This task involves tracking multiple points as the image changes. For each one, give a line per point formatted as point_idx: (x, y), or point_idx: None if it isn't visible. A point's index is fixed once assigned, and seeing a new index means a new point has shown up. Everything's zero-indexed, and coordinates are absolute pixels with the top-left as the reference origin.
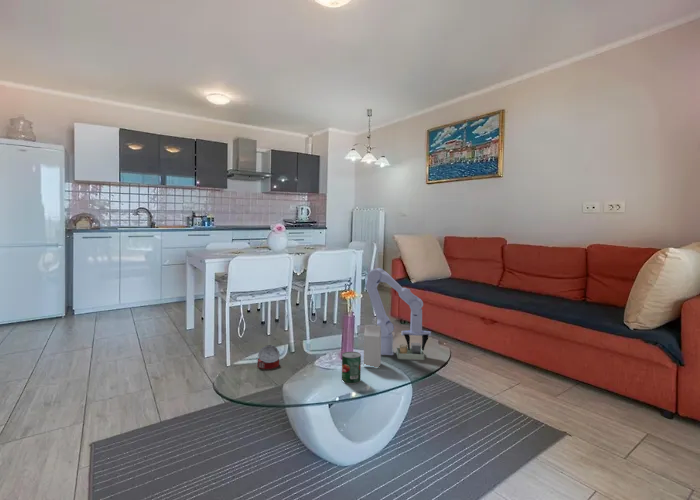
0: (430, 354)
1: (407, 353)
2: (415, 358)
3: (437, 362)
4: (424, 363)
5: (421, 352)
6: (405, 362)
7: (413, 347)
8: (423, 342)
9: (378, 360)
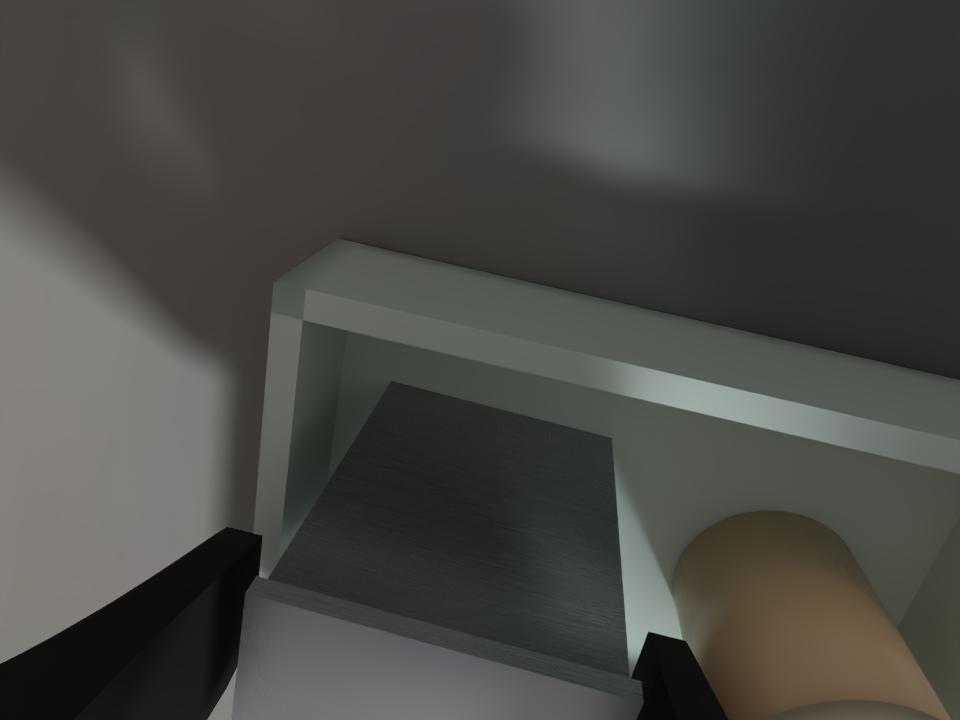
0: (114, 590)
1: None
2: (562, 306)
3: (37, 58)
4: (400, 10)
5: None
6: (927, 162)
7: (564, 616)
8: (65, 714)
9: None
